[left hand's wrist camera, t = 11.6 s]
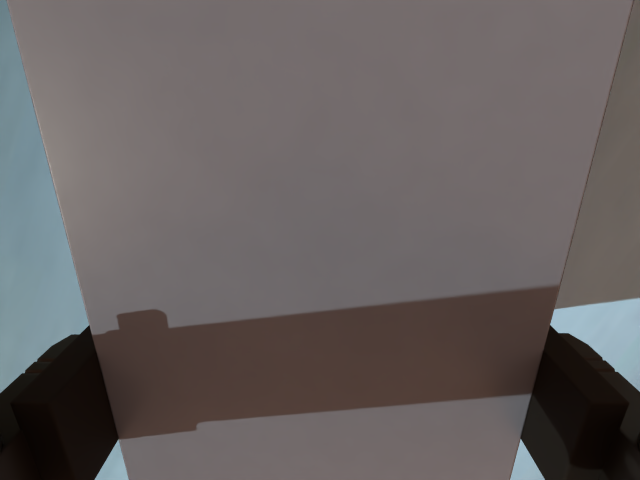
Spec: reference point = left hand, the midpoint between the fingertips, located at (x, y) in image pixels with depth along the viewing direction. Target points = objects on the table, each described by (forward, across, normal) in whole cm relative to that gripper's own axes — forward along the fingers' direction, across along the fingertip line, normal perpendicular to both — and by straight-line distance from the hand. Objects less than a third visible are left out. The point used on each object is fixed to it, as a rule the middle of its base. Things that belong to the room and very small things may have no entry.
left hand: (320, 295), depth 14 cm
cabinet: (+5, 0, -3) cm, 6 cm away
